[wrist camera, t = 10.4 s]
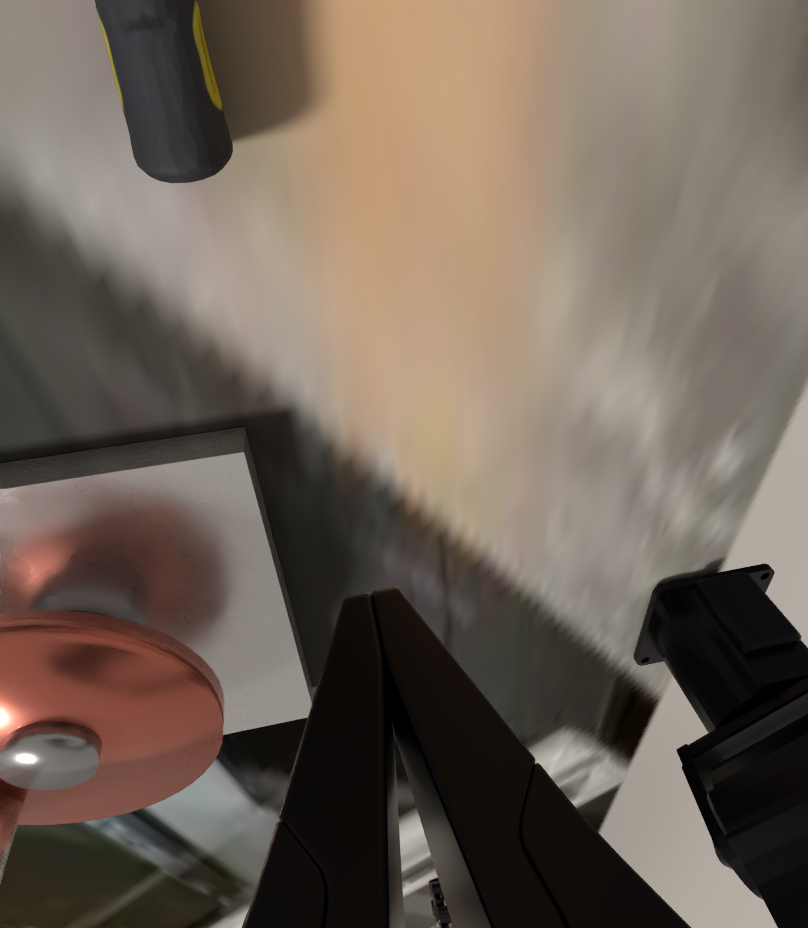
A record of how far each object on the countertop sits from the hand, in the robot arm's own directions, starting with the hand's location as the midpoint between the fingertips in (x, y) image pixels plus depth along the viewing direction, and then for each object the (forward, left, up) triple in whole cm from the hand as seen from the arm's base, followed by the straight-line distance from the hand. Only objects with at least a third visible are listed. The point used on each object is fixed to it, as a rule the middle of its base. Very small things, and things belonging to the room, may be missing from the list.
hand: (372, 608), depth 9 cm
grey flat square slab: (-12, +11, -12) cm, 20 cm away
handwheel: (-12, +11, -8) cm, 18 cm away
